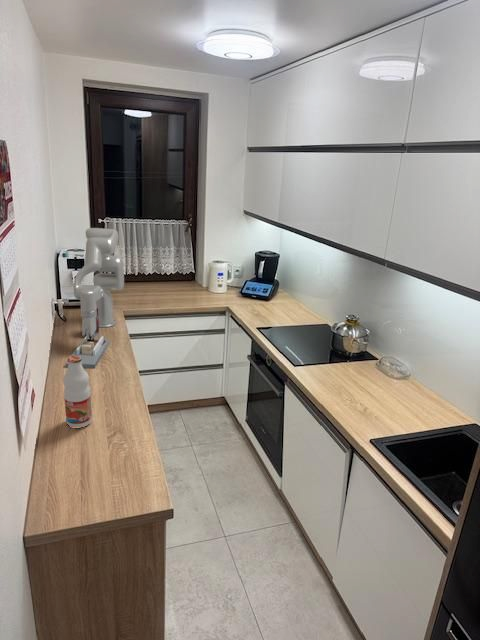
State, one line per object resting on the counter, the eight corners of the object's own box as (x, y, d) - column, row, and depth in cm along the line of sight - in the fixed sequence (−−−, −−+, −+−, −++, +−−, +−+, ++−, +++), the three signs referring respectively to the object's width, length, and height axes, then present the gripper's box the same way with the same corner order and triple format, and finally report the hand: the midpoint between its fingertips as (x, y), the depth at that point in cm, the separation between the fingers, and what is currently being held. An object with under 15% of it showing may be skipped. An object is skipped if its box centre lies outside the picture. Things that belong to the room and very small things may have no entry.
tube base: (84, 341, 241) (83, 333, 240) (109, 342, 242) (109, 334, 241) (65, 367, 212) (64, 357, 211) (95, 368, 213) (94, 358, 212)
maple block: (85, 349, 228) (84, 341, 226) (94, 349, 228) (93, 341, 227) (81, 354, 222) (81, 346, 221) (90, 354, 223) (90, 346, 221)
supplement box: (92, 339, 246) (90, 312, 240) (84, 337, 246) (82, 311, 241) (99, 333, 254) (98, 307, 248) (92, 332, 254) (90, 306, 249)
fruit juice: (97, 419, 173) (93, 355, 164) (80, 432, 165) (75, 365, 155) (78, 413, 176) (73, 350, 167) (61, 425, 168) (54, 359, 158)
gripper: (85, 308, 230) (87, 340, 237) (77, 318, 216) (79, 351, 223) (100, 308, 231) (101, 340, 237) (92, 318, 217) (94, 352, 223)
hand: (90, 346), depth 230 cm, fingers closed
